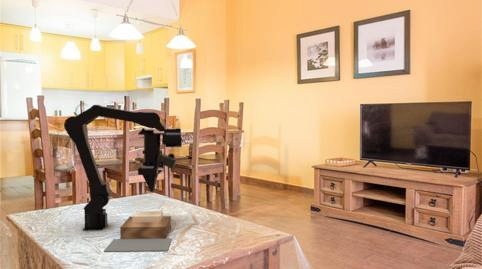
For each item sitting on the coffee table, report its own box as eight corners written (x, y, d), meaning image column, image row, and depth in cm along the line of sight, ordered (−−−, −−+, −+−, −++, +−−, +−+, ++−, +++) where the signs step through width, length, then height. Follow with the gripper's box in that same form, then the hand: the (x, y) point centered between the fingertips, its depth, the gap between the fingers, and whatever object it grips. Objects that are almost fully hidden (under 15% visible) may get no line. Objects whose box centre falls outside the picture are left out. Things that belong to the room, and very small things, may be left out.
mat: (103, 252, 103) (103, 250, 103) (113, 239, 113) (113, 238, 113) (167, 251, 104) (167, 250, 104) (172, 239, 114) (171, 238, 114)
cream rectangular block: (132, 222, 118) (132, 216, 118) (136, 217, 124) (136, 211, 124) (160, 222, 118) (160, 216, 118) (163, 217, 124) (163, 211, 124)
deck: (120, 239, 113) (120, 227, 113) (129, 227, 125) (129, 216, 125) (165, 239, 114) (165, 226, 114) (170, 227, 126) (170, 216, 126)
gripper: (171, 150, 119) (171, 196, 120) (178, 145, 138) (178, 185, 138) (137, 149, 118) (137, 197, 119) (148, 145, 137) (148, 185, 138)
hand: (152, 191), depth 129 cm, fingers closed
